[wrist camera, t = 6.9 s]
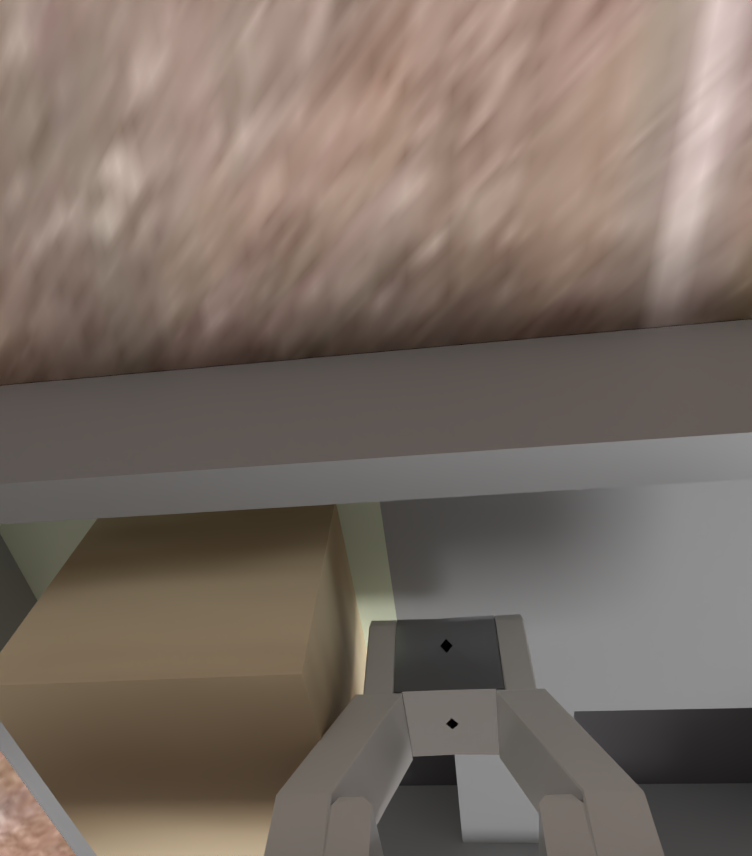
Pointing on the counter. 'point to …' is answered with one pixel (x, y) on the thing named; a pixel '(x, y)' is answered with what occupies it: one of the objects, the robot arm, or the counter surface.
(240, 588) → the maple block
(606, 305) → the counter surface
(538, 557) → the grey compartment tray
